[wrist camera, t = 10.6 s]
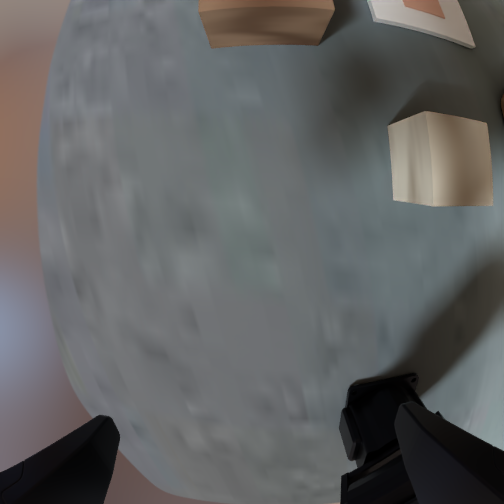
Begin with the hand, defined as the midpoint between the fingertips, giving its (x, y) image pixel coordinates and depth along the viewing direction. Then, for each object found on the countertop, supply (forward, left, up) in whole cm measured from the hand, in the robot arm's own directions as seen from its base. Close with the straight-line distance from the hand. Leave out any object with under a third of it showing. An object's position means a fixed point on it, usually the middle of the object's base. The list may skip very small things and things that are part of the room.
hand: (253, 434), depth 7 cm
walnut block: (-2, -20, -12) cm, 23 cm away
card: (-15, -25, -12) cm, 32 cm away
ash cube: (-12, -8, -12) cm, 19 cm away
